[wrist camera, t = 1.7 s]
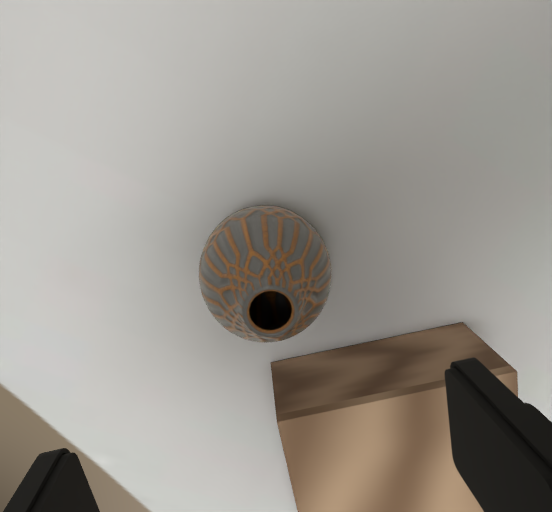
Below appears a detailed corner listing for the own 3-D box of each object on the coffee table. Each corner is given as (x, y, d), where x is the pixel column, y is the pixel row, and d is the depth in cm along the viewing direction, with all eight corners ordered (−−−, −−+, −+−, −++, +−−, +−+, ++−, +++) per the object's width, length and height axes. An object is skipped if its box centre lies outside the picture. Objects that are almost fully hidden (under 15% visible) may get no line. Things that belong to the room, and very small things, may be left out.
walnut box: (462, 322, 29) (517, 371, 23) (473, 476, 32) (522, 551, 27) (270, 362, 28) (277, 422, 23) (304, 512, 32) (317, 595, 27)
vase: (341, 245, 27) (386, 301, 18) (268, 325, 28) (278, 411, 19) (255, 172, 25) (261, 195, 17) (182, 259, 26) (152, 323, 18)
